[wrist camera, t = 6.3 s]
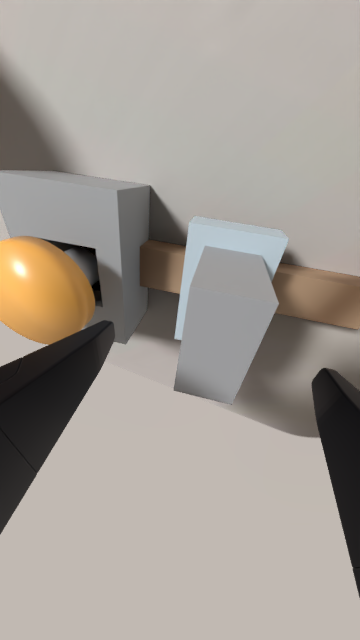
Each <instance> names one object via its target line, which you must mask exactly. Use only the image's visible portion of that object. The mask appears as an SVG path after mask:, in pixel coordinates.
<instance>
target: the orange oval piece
mask: <svg viewBox="0 0 360 640" xmlns="http://www.w3.org/2000/svg"><path fill="white" fill-rule="evenodd" d="M98 280H99V272H98V264H97V258H96V257H95V256H94V255H93V254H92V253H91V252H90V251H88V250H87V249H84V248H81V247H73V248H71V249H69V250H67V251H64V252H63V251H62V250H61V249H59V248H58V247H56V246H54V245H53V244H51V243H49V242H47V241H45V240H42V239H39V238H36V237H32V236H17V237H12V238H9V239H6V240H2V241H0V321H1V322H3V323H4V324H5V325H7V326H8V327H9V328H10V329H12V330H13V331H15V332H17V333H18V334H20V335H22V336H24V337H26V338H28V339H30V340H33V341H36V342H39V343H43V344H48V345H50V344H52V343H54V342H56V341H59V340H61V339H63V338H65V337H67V336H70V335H72V334H74V333H76V332H78V331H81V330H82V329H83V328H84V327H85V326H86V324H87V323H88V322H89V321H90V320H91V319H92V317H93V314H94V311H95V298H94V293H93V290H92V288H91V286H92V285H93V284H94V283H96V282H97V281H98Z"/></svg>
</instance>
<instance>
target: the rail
mask: <svg viewBox="0 0 360 640" xmlns="http://www.w3.org/2000/svg"><path fill="white" fill-rule="evenodd" d="M185 251H186V246H183V245H177V244H172V243H166V242H160V241H155V240H148V241H146V242H145V243H144V244H143V245H141V246H140V286H143V287H148V288H153V289H158V290H163V291H168V292H173V293H178V294H180V290H181V283H182V275H183V267H184V259H185ZM271 283H272V286H273V289H274V291H275V294H276V297H277V300H278V302H279V305H278V307H277V309H276V311H275V313H278V314H283V315H288V316H293V317H298V318H303V319H308V320H312V321H317V322H322V323H327V324H332V325H337V326H342V327H347V328H352V329H357V330H358V329H359V328H360V277H358V276H352V275H347V274H341V273H335V272H330V271H324V270H318V269H313V268H307V267H302V266H296V265H290V264H285V263H279V265H278V267H277V270H276V272H275V275H274V277H273V280H272V282H271Z"/></svg>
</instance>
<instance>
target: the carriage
mask: <svg viewBox="0 0 360 640" xmlns="http://www.w3.org/2000/svg"><path fill="white" fill-rule="evenodd" d="M288 241H289V238H288V237H287V236H286V235H285V234H284V233H283V231H282V230H278V229H272V228H266V227H259V226H253V225H247V224H241V223H235V222H229V221H223V220H216V219H210V218H204V217H198V216H194V217H193V219H192V220H191V221H190V222H189V228H188V236H187V244H186V251H185V259H184V267H183V275H182V283H181V290H180V298H179V306H178V314H177V322H176V330H175V337H174V339H178V340H181V346H180V353H179V359H178V365H177V372H176V378H175V385H174V391H178V392H182V393H186V394H190V395H194V396H198V397H202V398H206V399H210V400H214V401H218V402H222V403H226V404H231V405H232V403H233V401H234V399H235V397H236V395H237V392H238V390H239V388H240V386H241V384H242V382H243V380H244V377H245V375H246V373H247V371H248V369H249V367H250V365H251V362H252V360H253V358H254V356H255V354H256V352H257V350H258V347H259V345H260V343H261V341H262V339H263V337H264V335H265V332H266V330H267V328H268V326H269V324H270V322H271V320H272V317H273V315H274V313H275V311H276V309H277V307H278V305H279V302H278V300H277V297H276V294H275V291H274V289H273V286H272V283H271V282H272V280H273V277H274V275H275V272H276V270H277V267H278V265H279V263H280V260H281V258H282V255H283V253H284V250H285V248H286V246H287V243H288Z"/></svg>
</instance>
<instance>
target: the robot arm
mask: <svg viewBox="0 0 360 640" xmlns="http://www.w3.org/2000/svg"><path fill="white" fill-rule="evenodd" d="M114 339H115V329H114V323H113V322H112V321H108V320H103V321H100V322H98V323H96V324H94V325H92V326H89V327H87V328H85V329H83V330H81V331H78V332H76V333H74V334H72V335H70V336H67V337H65V338H63V339H61V340H59V341H56V342H54V343H52V344H50V345H48V346H45V347H43V348H41V349H39V350H37V351H34V352H33V353H30V354H28V355H26V356H24V357H23V358H19V359H17V360H15V361H12V362H10V363H8V364H6V365H3V366H1V367H0V534H1V532H2V531H3V529H4V527H5V526H6V524H7V523H8V521H9V519H10V518H11V516H12V514H13V513H14V511H15V509H16V508H17V506H18V505H19V503H20V501H21V499H22V498H23V496H24V495H25V493H26V491H27V490H28V488H29V486H30V485H31V483H32V481H33V480H34V478H35V477H36V475H37V473H38V471H39V470H40V468H41V467H42V465H43V463H44V462H45V460H46V458H47V457H48V455H49V453H50V452H51V450H52V448H53V447H54V445H55V443H56V442H57V440H58V438H59V437H60V435H61V434H62V432H63V430H64V429H65V427H66V425H67V424H68V422H69V421H70V419H71V417H72V416H73V414H74V412H75V411H76V409H77V407H78V406H79V404H80V403H81V401H82V399H83V397H84V396H85V394H86V393H87V391H88V389H89V388H90V386H91V385H92V383H93V381H94V380H95V378H96V376H97V375H98V373H99V371H100V370H101V367H102V366H103V364H104V361H105V359H106V357H107V355H108V353H109V351H110V348H111V346H112V344H113V342H114ZM312 392H313V400H314V408H315V415H316V421H317V426H318V430H319V434H320V438H321V442H322V446H323V450H324V454H325V458H326V462H327V466H328V470H329V474H330V479H331V483H332V487H333V491H334V495H335V499H336V503H337V507H338V511H339V515H340V519H341V523H342V527H343V531H344V535H345V539H346V543H347V547H348V551H349V556H350V560H351V564H352V567H353V573H354V576H355V581H356V585H357V589H358V592H359V597H360V391H359V390H357V389H356V388H355V387H354V386H353V385H352V384H350V383H349V382H348V381H347V380H346V379H345V378H344V377H342V376H341V375H340V374H339V373H338V372H337V371H335V370H333V369H328V368H322V369H321V370H320V371H319V373H318V374H317V375H316V377H315V378H314V379H313V381H312Z"/></svg>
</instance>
